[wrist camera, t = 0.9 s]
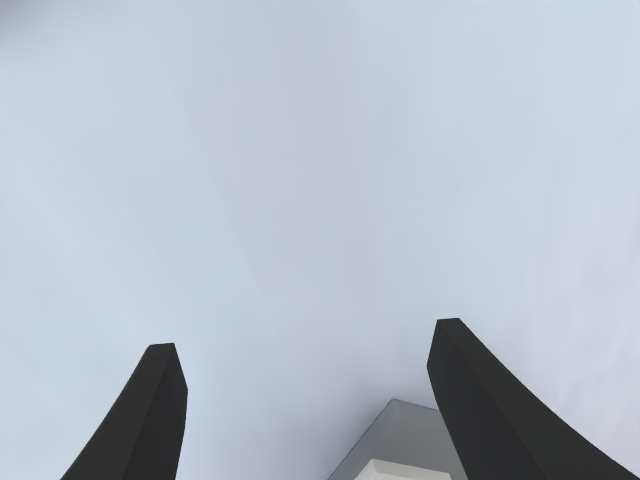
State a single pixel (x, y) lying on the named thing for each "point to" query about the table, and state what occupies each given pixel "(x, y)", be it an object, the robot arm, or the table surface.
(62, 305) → the table surface
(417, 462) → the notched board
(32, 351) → the table surface
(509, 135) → the table surface
